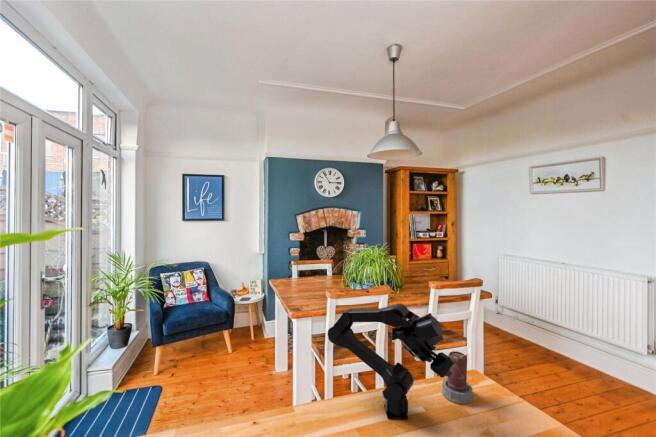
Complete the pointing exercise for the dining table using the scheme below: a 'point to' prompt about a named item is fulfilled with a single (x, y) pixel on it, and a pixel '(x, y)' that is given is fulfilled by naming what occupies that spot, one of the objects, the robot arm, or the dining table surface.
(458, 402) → the segmented gray ring
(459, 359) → the can
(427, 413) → the dining table surface
